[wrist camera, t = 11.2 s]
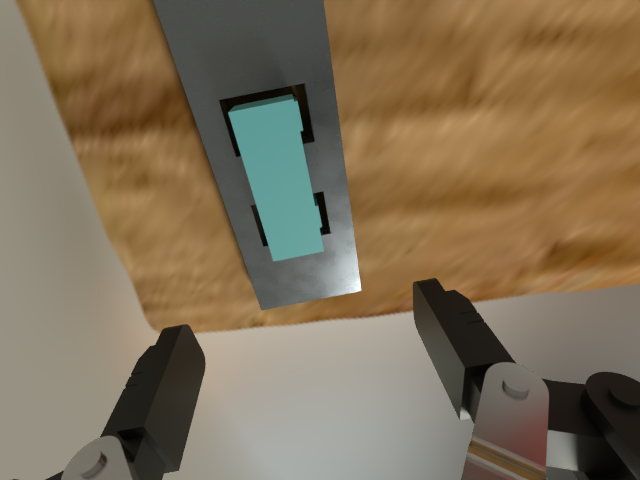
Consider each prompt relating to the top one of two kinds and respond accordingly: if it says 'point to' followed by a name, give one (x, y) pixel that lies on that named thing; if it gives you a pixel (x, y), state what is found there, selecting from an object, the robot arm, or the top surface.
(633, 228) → the top surface
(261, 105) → the teal rectangular block
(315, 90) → the grey board with holes
